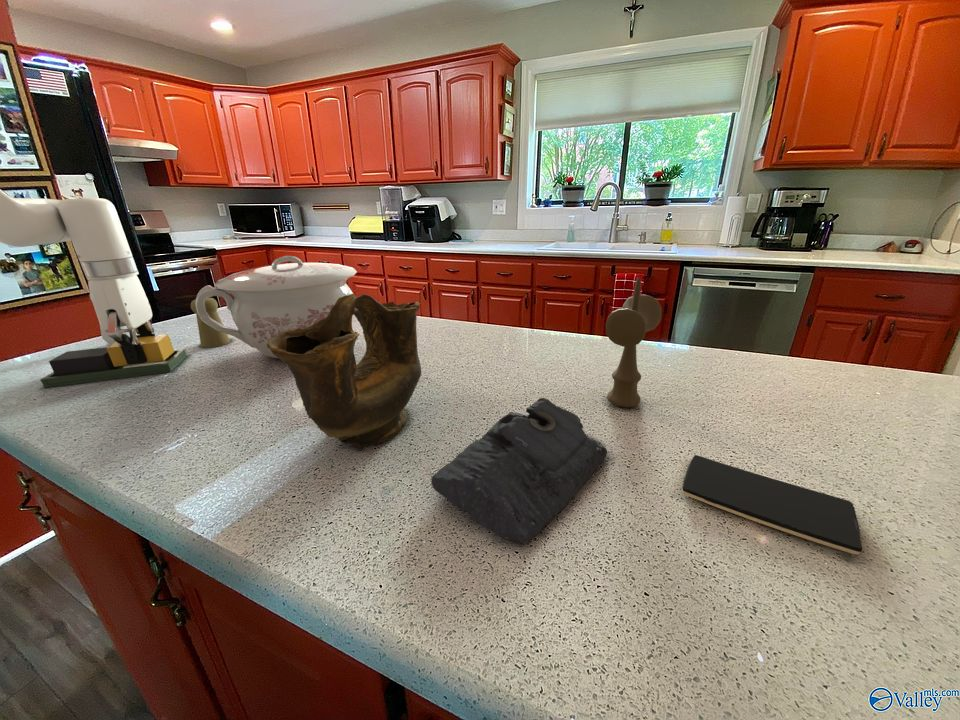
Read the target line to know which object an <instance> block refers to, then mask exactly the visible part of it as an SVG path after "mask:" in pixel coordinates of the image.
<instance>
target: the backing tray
mask: <svg viewBox="0 0 960 720" xmlns="http://www.w3.org/2000/svg"><path fill="white" fill-rule="evenodd" d="M187 357H188V354H187V351H186V349H185V348H183V349H182V348H181V349H174V352H173V353H172V354H171V355H170V356H169V357H168V358H167V359H165V360H164V361H158V362H150V363H141V364H133V365H125V366H120V367H119V368H118V369H114V370H106V371H98V372H89V373H81V374H73V375H64V376H56V375H55V373H54V371H53V372H51V373H49V374H47V375H46V376H43V377H42V378H40V382H41V385H42V386H43V388H53V387H61V386H69V385H76V384H84V383H85V384H86V383H91V382H92V383H93V382H100V381H108V380H116V379H124V378H133V377H139V376H148V375H157V374H164V373H165V374H166V373H171V372H173V370H174V369H175V368H177V366H179V364H180V363H182V362H183V361H184V360H185V359H186V358H187Z"/></svg>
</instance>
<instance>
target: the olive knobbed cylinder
mask: <svg viewBox="0 0 960 720" xmlns="http://www.w3.org/2000/svg"><path fill="white" fill-rule="evenodd" d="M195 301H196V299H193V300H191V303H190V309H191V311H192V312H193V313H194V314H195V315H196V322H197V329H198V335H199V342H200V347H201V348H204V349H205V348H207V349H208V348H209V349H210V348H216V347H221V346H224V345H225V346H226V345H227V344H229V343H230V342H231V339H230V337H229V334H226V333H223V332H220V331H217V330H215V329H213V328H212V327H210V326H209V325H208V324H206V323H205V322H203V321H202V320H201V319H200V317H199V315H198V314H197V311H196V306H195ZM205 308H206V311H207V313H208V314H209V316H210V317H211V318H212V319H213V320H215V321H217V322H218V323H220V324H221V325H223V326H224V324H223V321H222V320H221V317H220V315H219V313H218V309H219V304H218V301H217V300H216V299H215V298H213V297H208V298H206V299H205Z"/></svg>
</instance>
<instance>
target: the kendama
mask: <svg viewBox="0 0 960 720" xmlns="http://www.w3.org/2000/svg"><path fill="white" fill-rule="evenodd" d="M633 289H634V290H633V295H632V296H629V297H628V298H627V299H626V300H625V302H624V303H623V305H622V307H621V308H617V309H615V310H613V311H611V313H610V314H609V315H608V317H607V319H606V323H605V334H606V335H607V338H608V339H609V341H611V342H612V343H613V344H614V345H617V346H620V347H623V350H622V353H621V356H620V361H619V363H618V365H617V367H616V369H615V370H614V371H612V374H611V378H612V379H613V386H612V389H611V390H610V391H608V393H607V395H606V399H607V400H608V402H609V403H610V404H613V405H614V406H617V407H621V408H634V407H637V406H638V405H639V404H641V401H642V399H641V396H640V394H639V392H638V384H639V382H640V381H641V380H642V374H641V373H640V372H639V369H638V361H637V359H638V358H637V345H639V344H640V343H641V342H642V341H643V340H644V339H645V336H646V333H648V332H650V331H654V330H656V328H657V327H658V326H659V324H660V322H661V320H662V316H663V313H662V312H663V311H662V310H663V309H662V306H661V304H660V302H659V300H658V299H656V298H655V297H654V296H651V295H647V294H641V291H642V278H641V277H640V276H638V277H637V278H636V280H635V284H634V288H633Z"/></svg>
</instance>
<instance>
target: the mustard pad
mask: <svg viewBox="0 0 960 720" xmlns="http://www.w3.org/2000/svg"><path fill="white" fill-rule="evenodd" d="M137 341H138V343H141V345H142V348H143V350H144V353H145V356H146V358H147V362H145V363H150V362H158V361H164V360H165V359H167V358H168V357H169V356H170V355H171V354H172V353H173V352H174V350H175V349H174V346H173V343H172V340H171V338H170V335H169V334H167V333H166V334H159V335H155V336H147V337H138V338H137ZM106 347H107V351H108V353H109V355H110V358H111V360H112V363H113V365H114V367H116V366H125V365H129V364H127V362H126V360H125V357H124V355H123V352H122V350H121V347H120V346H118V344H117V342H115V343H114V344H112V345H111V346H110V345H109V346H106ZM138 364H141V363H138ZM130 365H133V364H130Z"/></svg>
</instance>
